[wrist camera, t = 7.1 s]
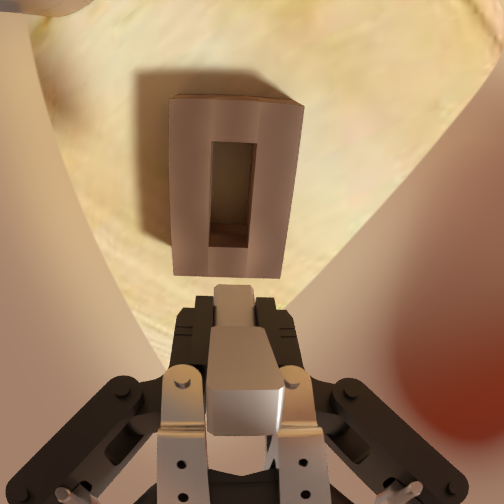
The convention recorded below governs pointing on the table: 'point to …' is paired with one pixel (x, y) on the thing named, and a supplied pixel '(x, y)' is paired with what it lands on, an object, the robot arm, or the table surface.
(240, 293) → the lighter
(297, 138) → the slot stand
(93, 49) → the table surface
